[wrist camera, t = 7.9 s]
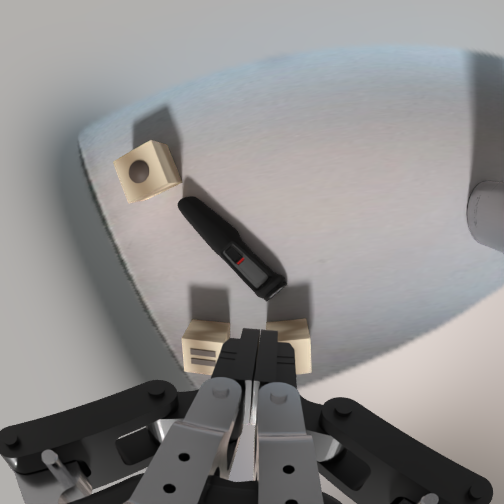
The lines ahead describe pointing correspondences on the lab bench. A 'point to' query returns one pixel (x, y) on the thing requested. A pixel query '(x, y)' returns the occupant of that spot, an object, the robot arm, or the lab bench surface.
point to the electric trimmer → (231, 248)
